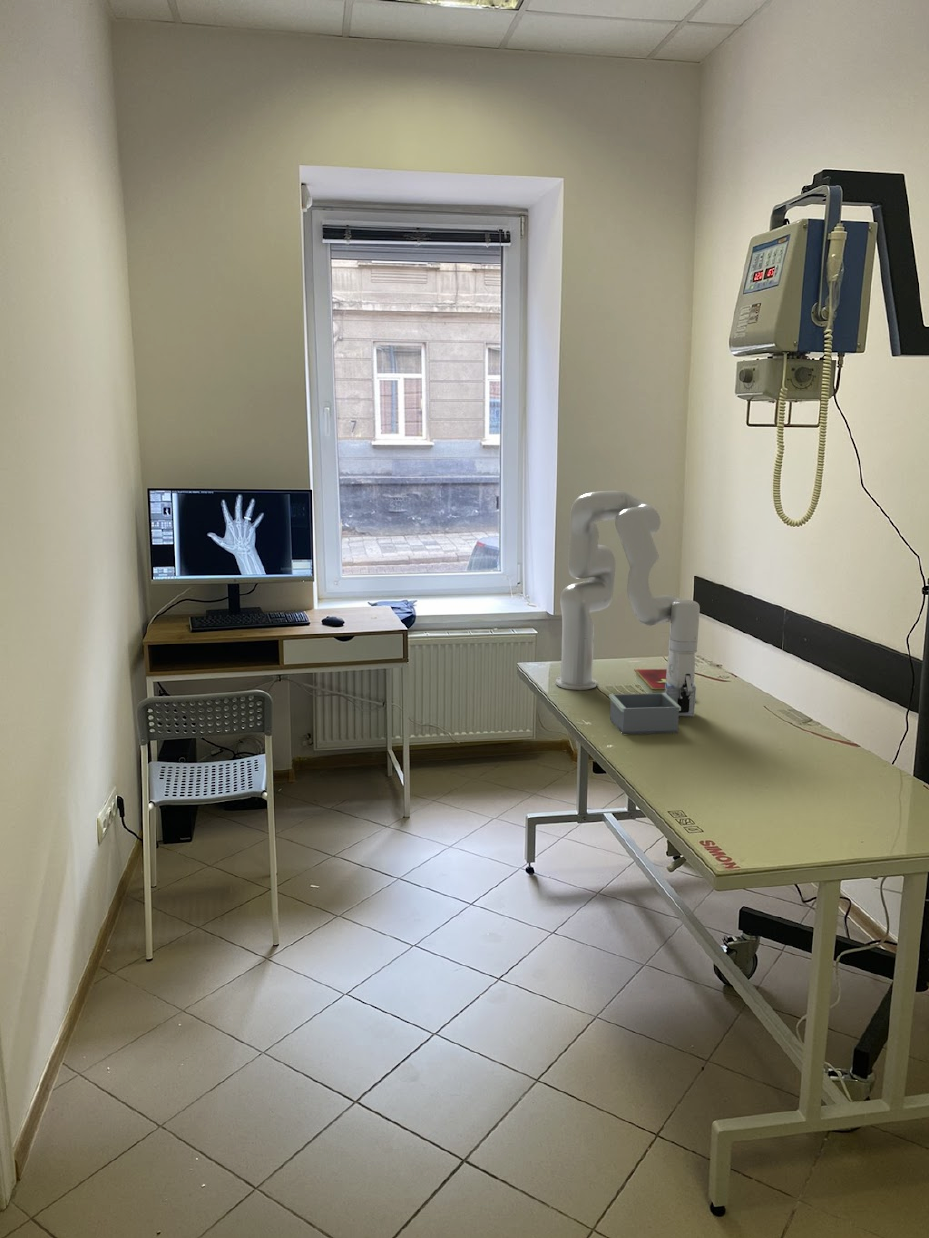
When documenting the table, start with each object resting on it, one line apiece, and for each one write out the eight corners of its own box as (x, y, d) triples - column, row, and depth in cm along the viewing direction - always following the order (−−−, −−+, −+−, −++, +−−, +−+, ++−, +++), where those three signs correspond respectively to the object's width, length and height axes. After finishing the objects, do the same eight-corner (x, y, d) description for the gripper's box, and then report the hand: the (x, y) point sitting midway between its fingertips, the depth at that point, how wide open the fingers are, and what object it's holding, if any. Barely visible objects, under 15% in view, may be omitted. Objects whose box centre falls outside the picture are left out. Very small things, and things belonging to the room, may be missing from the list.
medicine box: (691, 712, 255) (694, 682, 253) (694, 717, 251) (696, 687, 249) (663, 711, 256) (665, 681, 254) (665, 716, 251) (667, 685, 250)
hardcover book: (671, 680, 287) (672, 668, 286) (691, 701, 266) (692, 687, 265) (633, 681, 286) (634, 668, 285) (651, 701, 265) (652, 687, 264)
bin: (608, 719, 248) (609, 694, 247) (663, 717, 250) (665, 692, 248) (621, 734, 236) (622, 708, 234) (679, 733, 238) (680, 707, 236)
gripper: (659, 638, 257) (656, 699, 261) (680, 653, 240) (676, 719, 244) (685, 637, 258) (681, 699, 262) (707, 653, 241) (703, 718, 245)
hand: (679, 708), depth 253 cm, fingers open, 5 cm apart
